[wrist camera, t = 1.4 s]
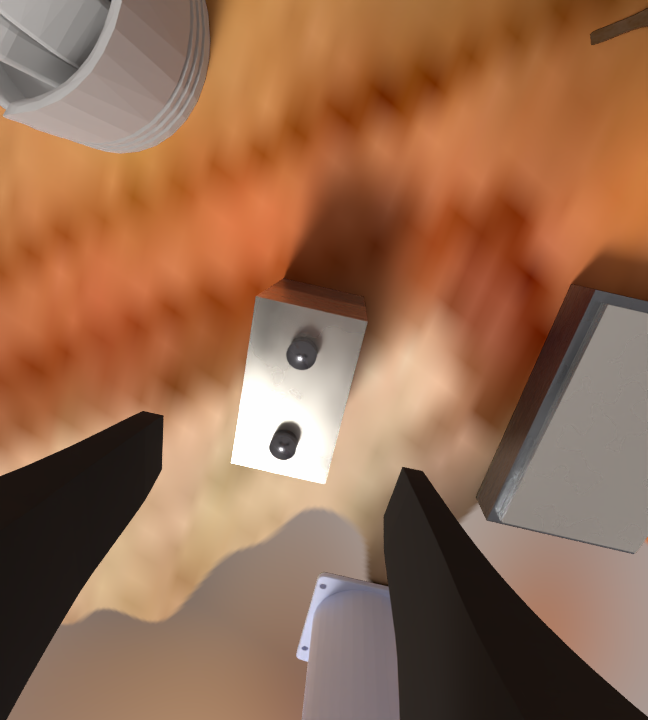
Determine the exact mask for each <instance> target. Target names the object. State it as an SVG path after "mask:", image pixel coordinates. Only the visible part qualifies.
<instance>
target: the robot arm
mask: <svg viewBox="0 0 648 720" xmlns="http://www.w3.org/2000/svg"><path fill="white" fill-rule="evenodd" d="M162 446H163V415H159V414H154V413H149V412H145V411H142V412H140V413H138V414H136V415H133V416H131V417H129V418H127V419H125V420H123V421H121V422H119V423H117V424H115V425H113V426H111V427H109V428H107V429H105V430H103V431H101V432H99V433H97V434H95V435H93V436H91V437H89V438H87V439H85V440H83V441H81V442H78V443H76V444H74V445H72V446H70V447H68V448H66V449H63V450H61V451H59V452H57V453H54V454H52V455H50V456H48V457H45V458H43V459H41V460H39V461H36V462H34V463H32V464H29V465H27V466H25V467H22V468H20V469H17V470H15V471H12V472H10V473H7V474H5V475H2V476H0V720H6V719H7V718H8V716H9V714H10V712H11V710H12V708H13V707H14V705H15V703H16V701H17V699H18V698H19V696H20V694H21V692H22V690H23V689H24V687H25V685H26V683H27V681H28V679H29V678H30V676H31V674H32V672H33V671H34V669H35V667H36V666H37V663H38V662H39V660H40V658H41V657H42V655H43V653H44V652H45V650H46V648H47V646H48V645H49V643H50V641H51V639H52V638H53V636H54V634H55V633H56V631H57V629H58V628H59V626H60V624H61V623H62V621H63V619H64V618H65V616H66V614H67V613H68V611H69V609H70V608H71V606H72V604H73V603H74V601H75V599H76V598H77V596H78V594H79V593H80V591H81V590H82V588H83V587H84V585H85V584H86V582H87V581H88V579H89V578H90V576H91V575H92V573H93V572H94V570H95V569H96V568H97V566H98V565H99V564H100V562H101V561H102V559H103V558H104V557H105V555H106V554H107V553H108V551H109V550H110V548H111V547H112V546H113V544H114V543H115V542H116V540H117V539H118V537H119V536H120V535H121V533H122V532H123V530H124V529H125V528H126V526H127V525H128V524H129V522H130V521H131V519H132V518H133V517H134V515H135V514H136V512H137V511H138V510H139V508H140V507H141V505H142V504H143V502H144V501H145V499H146V498H147V496H148V494H149V492H150V490H151V489H152V487H153V485H154V483H155V481H156V479H157V478H158V476H159V474H160V472H161V470H162ZM384 554H385V563H386V571H387V579H388V586H389V587H388V586H384V585H379V584H375V583H371V582H366V581H362V580H357V579H353V578H349V577H344V576H340V575H336V574H331V573H327V572H322V573H320V574H319V575H318V578H317V582H316V586H315V590H314V592H313V596H312V599H311V603H310V607H309V610H308V614H307V617H306V621H305V624H304V628H303V631H302V635H301V638H300V642H299V645H298V649H297V654H296V656H297V658H298V659H300V660H304V661H308V669H307V677H306V686H305V696H304V705H303V714H302V720H648V717H647V716H646V715H645V714H644V713H642V712H641V711H640V710H639V709H638V708H636V707H635V706H634V705H633V704H632V703H631V702H629V701H628V700H627V699H626V698H625V697H624V696H622V695H621V694H620V693H619V692H618V691H617V690H615V688H613V687H612V686H611V685H610V684H609V683H607V681H605V680H604V679H603V678H602V677H601V676H600V675H599V674H597V673H596V672H595V671H594V670H593V669H592V668H591V667H590V666H589V665H588V664H586V663H585V662H584V661H583V660H582V659H581V658H580V657H579V656H578V655H577V654H576V653H574V651H572V650H571V649H570V648H569V647H568V646H567V645H566V644H565V643H564V642H563V641H562V640H561V639H560V638H559V637H558V636H557V635H556V634H555V633H554V632H553V631H552V630H551V629H550V628H549V627H548V626H547V625H546V624H545V623H544V622H543V621H542V620H541V619H540V618H539V617H538V616H537V615H536V614H535V613H534V612H533V611H532V610H531V609H530V608H529V607H528V606H527V605H526V603H525V602H524V601H523V600H522V599H521V598H520V597H519V596H518V595H517V594H516V593H515V591H514V590H513V589H512V588H511V587H510V586H509V585H508V584H507V583H506V581H505V580H504V579H503V578H502V577H501V576H500V575H499V573H498V572H497V571H496V570H495V569H494V568H493V566H492V565H491V564H490V563H489V561H488V560H487V559H486V558H485V556H484V555H483V554H482V553H481V551H480V550H479V549H478V548H477V546H476V545H475V544H474V543H473V541H472V540H471V539H470V537H469V536H468V535H467V533H466V532H465V531H464V529H463V528H462V527H461V525H460V524H459V522H458V521H457V520H456V518H455V517H454V516H453V514H452V513H451V511H450V510H449V508H448V507H447V506H446V504H445V503H444V501H443V500H442V498H441V497H440V495H439V494H438V493H437V491H436V490H435V488H434V487H433V485H432V484H431V482H430V481H429V479H428V478H427V477H426V475H425V474H424V472H423V471H419V470H414V469H410V468H405V467H402V470H401V472H400V475H399V478H398V480H397V483H396V486H395V488H394V491H393V494H392V496H391V499H390V501H389V504H388V507H387V509H386V512H385V515H384Z"/></svg>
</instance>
